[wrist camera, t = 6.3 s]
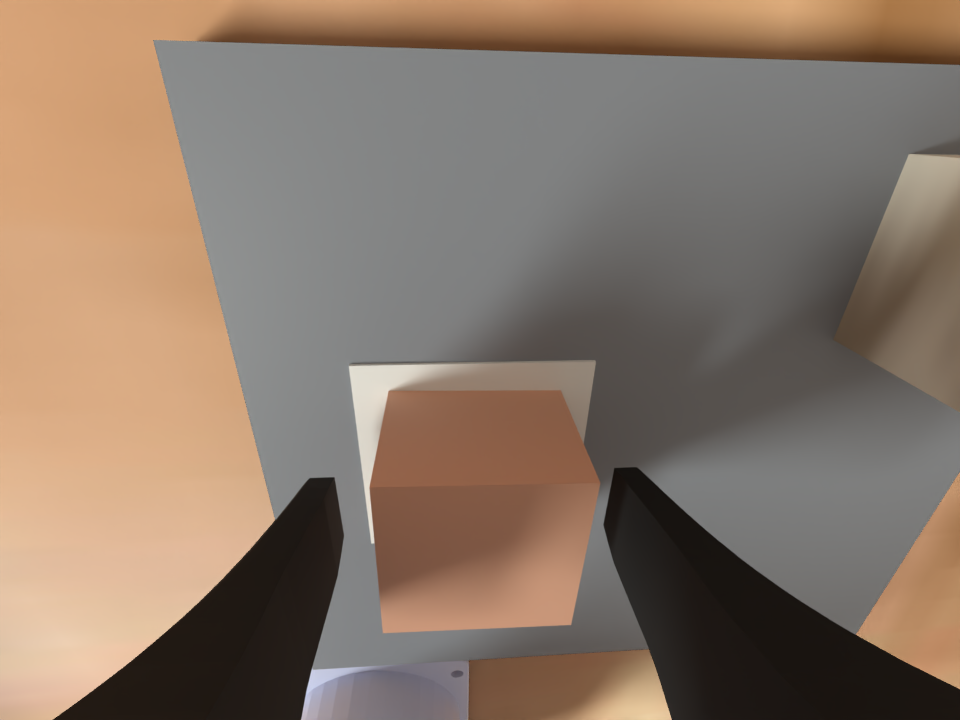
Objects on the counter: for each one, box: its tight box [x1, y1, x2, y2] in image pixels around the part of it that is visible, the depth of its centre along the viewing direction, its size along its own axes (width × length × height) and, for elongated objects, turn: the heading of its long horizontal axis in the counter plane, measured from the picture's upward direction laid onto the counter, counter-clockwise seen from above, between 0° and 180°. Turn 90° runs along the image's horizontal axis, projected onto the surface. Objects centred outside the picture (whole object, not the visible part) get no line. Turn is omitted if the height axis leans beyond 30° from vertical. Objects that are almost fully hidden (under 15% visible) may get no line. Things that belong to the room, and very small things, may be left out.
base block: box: [369, 390, 600, 633], centre depth 12 cm, size 5×5×4 cm
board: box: [153, 40, 960, 670], centre depth 14 cm, size 20×22×1 cm
